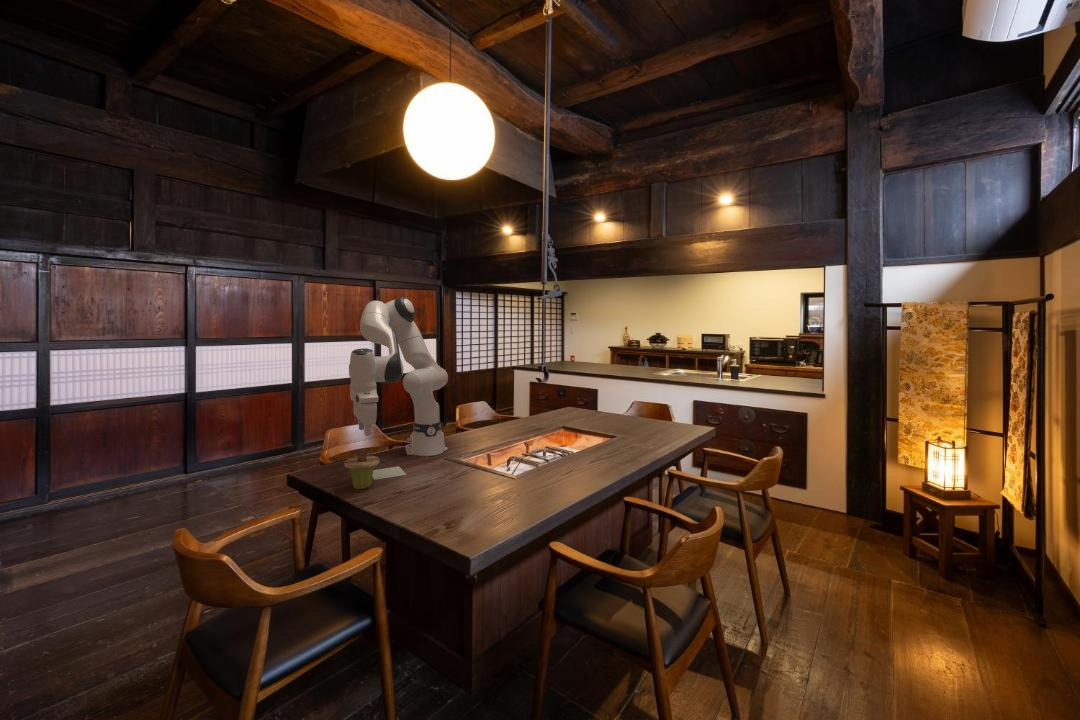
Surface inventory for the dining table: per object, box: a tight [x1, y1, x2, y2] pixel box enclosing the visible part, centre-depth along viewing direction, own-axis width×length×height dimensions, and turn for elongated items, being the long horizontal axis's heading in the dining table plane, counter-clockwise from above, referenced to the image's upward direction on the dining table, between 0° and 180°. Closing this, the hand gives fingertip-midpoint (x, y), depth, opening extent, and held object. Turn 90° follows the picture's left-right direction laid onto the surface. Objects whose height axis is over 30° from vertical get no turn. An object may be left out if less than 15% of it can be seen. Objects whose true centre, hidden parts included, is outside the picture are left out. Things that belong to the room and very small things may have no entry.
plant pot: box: [348, 466, 375, 490], centre depth 169 cm, size 9×9×9 cm
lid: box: [343, 448, 381, 470], centre depth 168 cm, size 12×12×5 cm
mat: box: [372, 465, 407, 481], centre depth 183 cm, size 12×12×1 cm
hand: (364, 432), depth 167 cm, fingers open, 8 cm apart
